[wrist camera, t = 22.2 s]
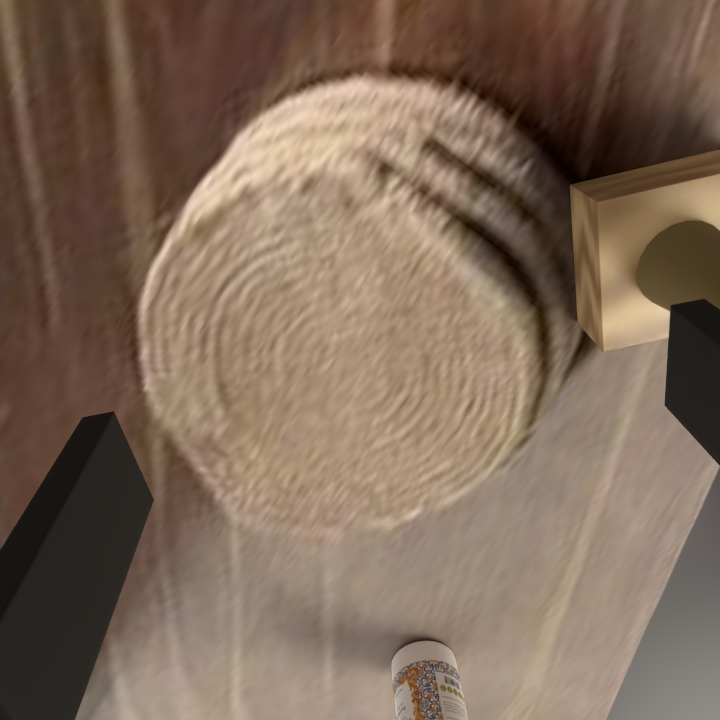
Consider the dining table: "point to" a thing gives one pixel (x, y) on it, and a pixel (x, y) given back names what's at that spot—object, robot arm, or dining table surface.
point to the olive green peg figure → (681, 265)
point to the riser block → (633, 241)
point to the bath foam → (427, 683)
